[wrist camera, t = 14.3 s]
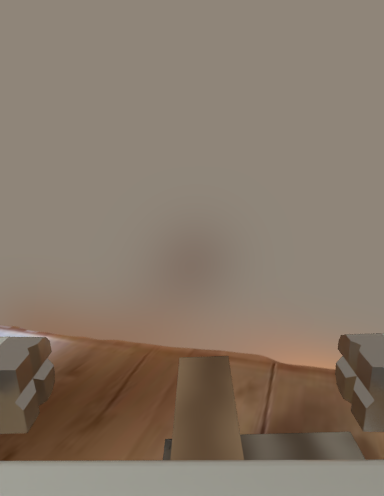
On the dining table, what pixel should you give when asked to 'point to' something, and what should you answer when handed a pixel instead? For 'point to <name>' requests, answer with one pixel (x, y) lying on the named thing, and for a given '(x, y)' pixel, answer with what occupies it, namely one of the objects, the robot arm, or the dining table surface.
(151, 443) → the dining table surface
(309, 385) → the dining table surface
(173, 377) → the dining table surface
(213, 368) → the walnut plank
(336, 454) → the partly open shallow box
